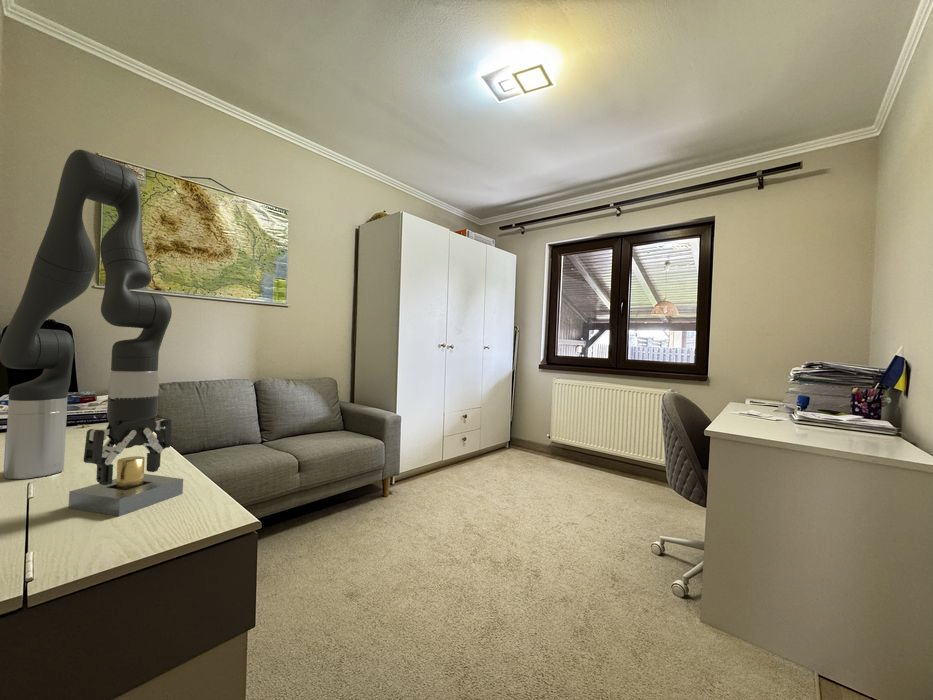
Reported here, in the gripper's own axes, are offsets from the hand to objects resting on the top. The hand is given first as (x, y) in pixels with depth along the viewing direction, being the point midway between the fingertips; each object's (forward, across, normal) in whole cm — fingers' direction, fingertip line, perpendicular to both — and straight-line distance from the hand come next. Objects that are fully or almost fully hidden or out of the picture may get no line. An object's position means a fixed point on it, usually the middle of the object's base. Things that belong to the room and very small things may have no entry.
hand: (129, 477), depth 76 cm
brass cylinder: (+4, 0, 0) cm, 4 cm away
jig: (+4, 0, 0) cm, 4 cm away
